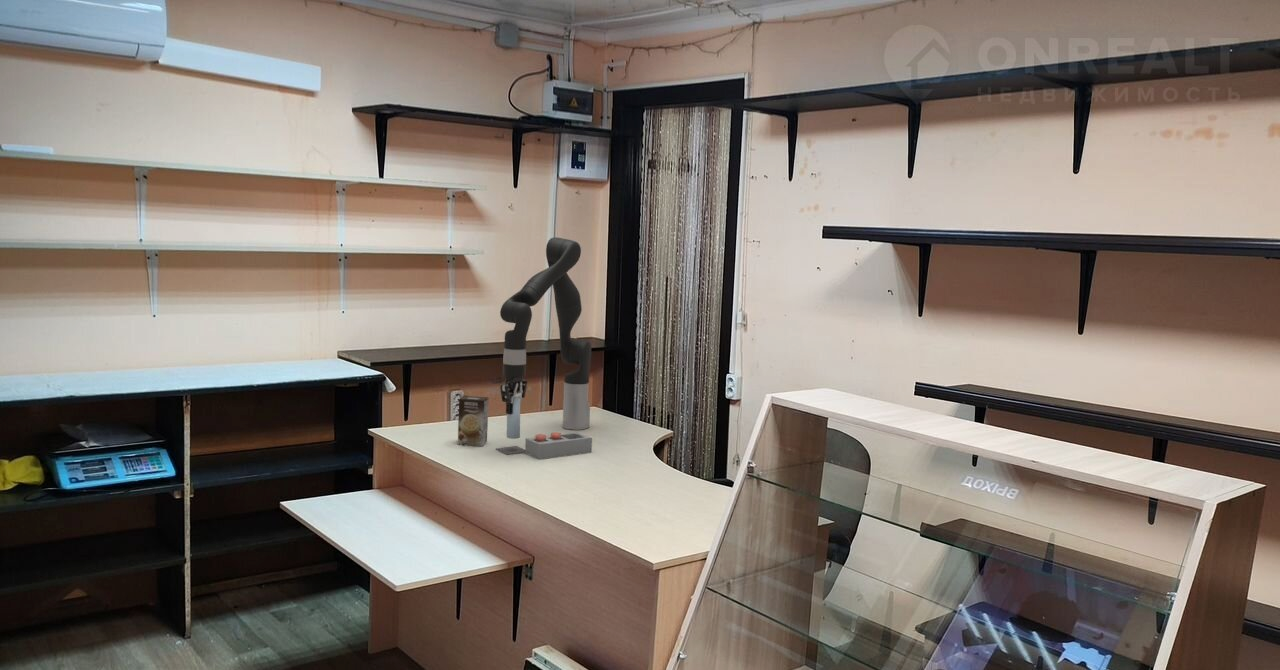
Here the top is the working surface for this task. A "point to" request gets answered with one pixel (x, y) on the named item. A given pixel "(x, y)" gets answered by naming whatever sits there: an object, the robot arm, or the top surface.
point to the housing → (559, 446)
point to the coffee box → (473, 420)
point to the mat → (511, 450)
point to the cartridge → (514, 419)
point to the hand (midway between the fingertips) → (513, 412)
